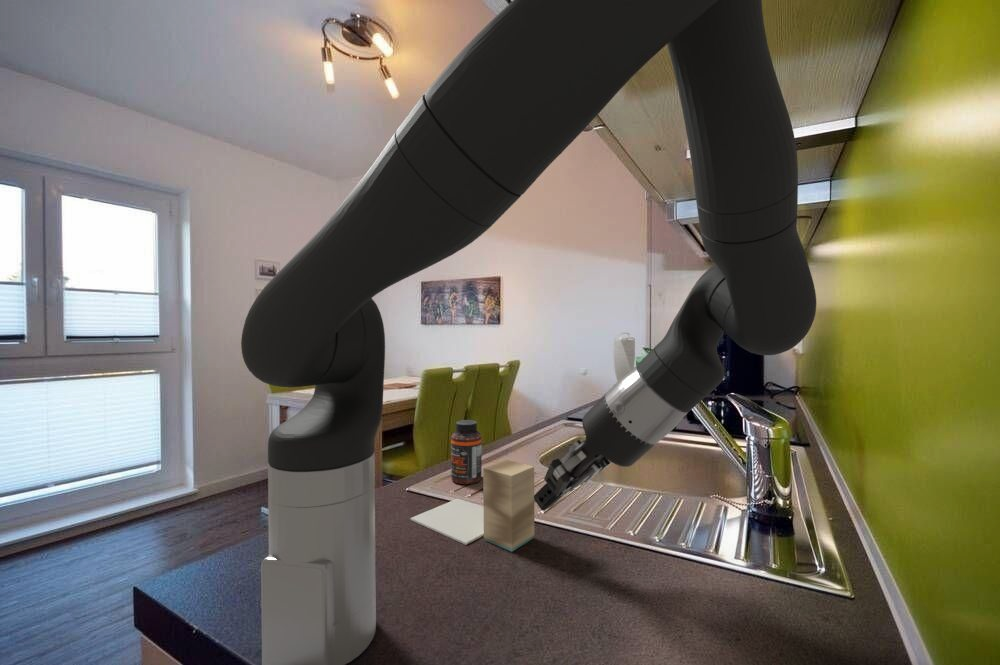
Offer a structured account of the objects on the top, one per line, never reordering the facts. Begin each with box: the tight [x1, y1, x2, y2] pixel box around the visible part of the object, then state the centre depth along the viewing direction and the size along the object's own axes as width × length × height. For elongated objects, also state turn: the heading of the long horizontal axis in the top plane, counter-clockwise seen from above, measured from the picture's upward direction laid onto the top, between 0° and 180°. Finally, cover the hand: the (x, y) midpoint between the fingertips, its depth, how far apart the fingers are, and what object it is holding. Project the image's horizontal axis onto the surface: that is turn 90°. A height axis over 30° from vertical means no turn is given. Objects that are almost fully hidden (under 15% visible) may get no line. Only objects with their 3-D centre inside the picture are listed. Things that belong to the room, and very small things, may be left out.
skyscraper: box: [612, 332, 636, 384], centre depth 148 cm, size 8×8×28 cm
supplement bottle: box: [450, 419, 483, 485], centre depth 83 cm, size 6×6×11 cm
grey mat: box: [410, 498, 484, 546], centre depth 66 cm, size 12×10×1 cm
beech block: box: [482, 459, 535, 552], centre depth 59 cm, size 5×5×10 cm
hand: (540, 502), depth 55 cm, fingers closed
